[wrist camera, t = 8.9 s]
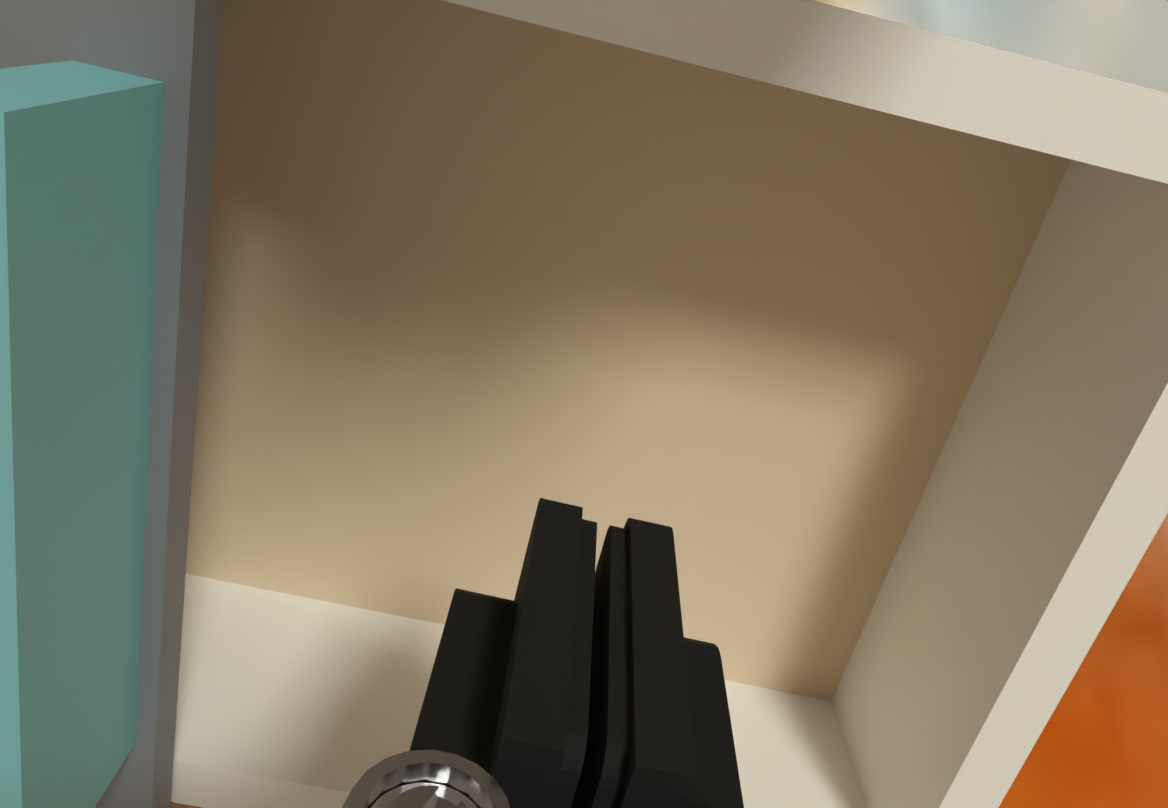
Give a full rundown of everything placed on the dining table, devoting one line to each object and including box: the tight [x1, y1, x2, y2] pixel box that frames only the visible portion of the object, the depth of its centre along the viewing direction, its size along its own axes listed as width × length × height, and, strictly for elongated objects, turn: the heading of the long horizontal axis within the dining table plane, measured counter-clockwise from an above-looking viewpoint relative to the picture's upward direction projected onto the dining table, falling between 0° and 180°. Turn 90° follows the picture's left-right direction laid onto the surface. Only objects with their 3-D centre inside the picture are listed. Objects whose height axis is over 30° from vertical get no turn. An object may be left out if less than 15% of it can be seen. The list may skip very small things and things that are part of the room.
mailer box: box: [171, 0, 1168, 808], centre depth 16 cm, size 20×15×6 cm
